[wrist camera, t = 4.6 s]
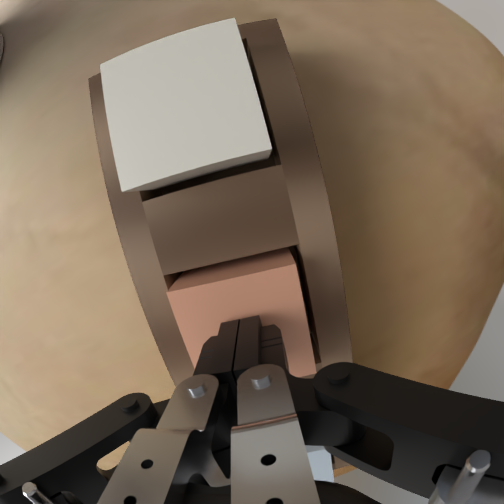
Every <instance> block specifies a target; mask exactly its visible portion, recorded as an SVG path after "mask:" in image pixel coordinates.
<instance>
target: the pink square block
mask: <svg viewBox="0 0 504 504" xmlns="http://www.w3.org/2000/svg"><path fill="white" fill-rule="evenodd" d="M166 293H167V296H168V299H169V302H170V305H171V308H172V311H173V314H174V316H175V319H176V322H177V325H178V327H179V330H180V333H181V335H182V338H183V341H184V343H185V346H186V348H187V351H188V354H189V356H190V359H191V361H192V364H193V366H194V368H195V367H196V364H197V361H198V359H199V355H200V353H201V349H202V346H203V344H204V343H205V342H206V341H207V340H208V339H209V338H210V337H211V336H217V335H218V332H219V328H220V324H221V323H222V322H227V321H232V320H237V319H242V318H247V317H252V316H256V315H259V316H260V319H261V323H262V327H263V326H268V325H272V324H275V325H276V326H277V327H278V328H280V329H281V333H282V338H283V342H284V346H285V351H286V355H287V359H288V365H289V371H290V374H291V375H293V376H295V377H302V376H307V375H311V374H315V373H317V372H316V366H315V361H314V355H313V349H312V344H311V338H310V333H309V327H308V322H307V317H306V312H305V307H304V301H303V296H302V291H301V286H300V281H299V277H298V272H297V267H296V263H295V261H294V259H293V257H292V255H291V252H290V250H289V248H288V247H284V248H280V249H276V250H271V251H267V252H263V253H259V254H254V255H250V256H246V257H241V258H237V259H233V260H228V261H224V262H220V263H215V264H211V265H207V266H202V267H198V268H194V269H189V270H185V271H184V272H183V273H182V274H181V275H180V276H179V278H178V279H177V280H176V281H175V282H174V284H173V285H172V286H171V287H170V289H169V290H168V291H167V292H166Z"/></svg>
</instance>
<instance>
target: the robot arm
mask: <svg viewBox="0 0 504 504" xmlns="http://www.w3.org/2000/svg"><path fill="white" fill-rule="evenodd" d="M3 45H4V43H3V37H2V34H1V33H0V61H1V57H2V53H3ZM127 441H129V442H130V444H129V446H128V448H127V449H126V451H125V453H124V455H123V457H122V459H121V460H120V462H119V464H118V465H117V466H115V467H113V468H112V469H110V470H101V469H100V468H99V467H98V466H97V462H98V460H99V459H101V458H102V457H104V456H105V455H107V454H109V453H110V452H112V451H113V450H115V449H116V448H118V447H119V446H121V445H123V444H124V443H126V442H127ZM305 445H310V446H324V448H325V450H326V451H327V452H328V453H330V454H332V455H334V456H335V457H337V458H339V459H341V460H343V461H345V462H347V463H349V464H351V465H353V466H354V467H356V468H358V469H360V470H363V471H365V472H367V473H369V474H371V475H373V476H375V477H377V478H379V479H382V480H384V481H386V482H388V483H391V484H393V485H395V486H398V487H400V488H402V489H405V490H407V491H410V492H413V493H415V494H418V495H420V496H423V497H425V498H428V499H429V501H428V504H504V402H501V401H496V400H491V399H486V398H481V397H477V396H472V395H468V394H463V393H459V392H454V391H450V390H446V389H442V388H438V387H434V386H431V385H427V384H423V383H419V382H416V381H412V380H408V379H405V378H401V377H398V376H394V375H391V374H387V373H384V372H381V371H377V370H374V369H371V368H368V367H364V366H361V365H358V364H355V363H351V362H338V363H333V364H330V365H327V366H325V367H323V368H322V369H320V370H319V371H318V372H317V373H316V374H315V376H314V378H299V377H295V376H293V375H291V374H290V371H289V365H288V359H287V355H286V351H285V346H284V342H283V338H282V333H281V329H280V328H278V327H277V326H276V325H275V324H272V325H268V326H263V327H262V323H261V319H260V316H259V315H256V316H252V317H247V318H242V319H237V320H232V321H227V322H222V323H221V324H220V328H219V332H218V335H217V336H211V337H210V338H209V339H208V340H207V341H206V342H205V343H204V344H203V346H202V349H201V353H200V355H199V359H198V361H197V364H196V367H195V370H194V373H193V376H191V377H189V378H187V379H185V380H183V381H182V382H181V383H180V384H179V385H178V386H177V387H176V389H175V391H174V393H173V395H172V397H171V399H168V400H164V401H161V402H157V403H154V404H153V403H152V401H151V399H150V398H149V396H148V395H146V394H144V393H132V394H128V395H126V396H123V397H122V398H120V399H118V400H117V401H115V402H113V403H112V404H110V405H109V406H107V407H105V408H104V409H102V410H100V411H99V412H97V413H95V414H94V415H92V416H90V417H88V418H87V419H85V420H83V421H82V422H80V423H78V424H76V425H75V426H73V427H71V428H70V429H68V430H66V431H64V432H62V433H61V434H59V435H57V436H55V437H54V438H52V439H50V440H48V441H46V442H44V443H43V444H41V445H39V446H37V447H35V448H33V449H31V450H30V451H28V452H26V453H24V454H22V455H20V456H18V457H16V458H14V459H12V460H10V461H8V462H6V463H4V464H2V465H0V504H381V503H379V502H377V501H375V500H373V499H372V498H370V497H368V496H366V495H364V494H363V493H361V492H359V491H357V490H355V489H353V488H350V487H348V486H345V485H341V484H338V483H334V482H328V481H320V480H314V478H313V474H312V470H311V466H310V463H309V459H308V455H307V451H306V448H305Z"/></svg>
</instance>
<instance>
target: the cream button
mask: <svg viewBox="0 0 504 504" xmlns="http://www.w3.org/2000/svg"><path fill="white" fill-rule="evenodd" d="M100 70H101V79H102V87H103V95H104V102H105V109H106V115H107V121H108V127H109V133H110V139H111V144H112V149H113V154H114V159H115V164H116V169H117V173H118V178H119V182H120V186H121V191H122V192H128V191H141V190H155V189H159V188H162V187H166V186H169V185H172V184H176V183H179V182H182V181H186V180H189V179H193V178H196V177H200V176H203V175H207V174H211V173H214V172H218V171H222V170H226V169H229V168H233V167H237V166H241V165H245V164H250V163H254V162H258V161H262V160H267V159H268V158H269V156H270V153H271V150H272V147H271V143H270V139H269V135H268V131H267V127H266V124H265V120H264V116H263V112H262V109H261V105H260V101H259V98H258V94H257V91H256V87H255V84H254V80H253V77H252V73H251V70H250V66H249V63H248V59H247V56H246V53H245V49H244V46H243V43H242V40H241V36H240V33H239V30H238V27H237V24H236V20H235V18H231V19H227V20H222V21H218V22H214V23H210V24H206V25H203V26H199V27H195V28H192V29H189V30H185V31H182V32H179V33H176V34H173V35H170V36H167V37H164V38H161V39H159V40H156V41H153V42H150V43H148V44H145V45H143V46H140V47H138V48H135V49H133V50H131V51H128V52H126V53H124V54H121V55H119V56H117V57H115V58H113V59H111V60H108V61H106V62H104V63H102V64H100Z"/></svg>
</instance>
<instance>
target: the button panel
mask: <svg viewBox="0 0 504 504" xmlns="http://www.w3.org/2000/svg"><path fill="white" fill-rule="evenodd" d="M237 27H238V30H239V33H240V36H241V40H242V43H243V46H244V49H245V53H246V56H247V59H248V63H249V66H250V70H251V73H252V77H253V80H254V84H255V87H256V91H257V94H258V98H259V101H260V105H261V109H262V112H263V116H264V120H265V124H266V127H267V131H268V135H269V139H270V143H271V147H272V150H271V153H270V156H269V158H268V159H267V160H262V161H258V162H254V163H250V164H245V165H241V166H237V167H233V168H229V169H226V170H222V171H218V172H214V173H211V174H207V175H203V176H200V177H196V178H193V179H189V180H186V181H182V182H179V183H176V184H172V185H169V186H166V187H162V188H159V189H155V190H141V191H128V192H122V191H121V186H120V182H119V178H118V173H117V169H116V164H115V159H114V154H113V149H112V144H111V139H110V133H109V127H108V121H107V115H106V109H105V102H104V95H103V87H102V79H101V73H99V74H97V75H95V76H93V77H91V78H89V89H90V97H91V105H92V113H93V120H94V126H95V133H96V138H97V144H98V150H99V155H100V160H101V165H102V170H103V175H104V179H105V184H106V188H107V192H108V197H109V201H110V205H111V209H112V213H113V216H114V220H115V224H116V228H117V231H118V235H119V238H120V242H121V245H122V248H123V252H124V255H125V258H126V261H127V265H128V268H129V271H130V274H131V277H132V280H133V283H134V286H135V289H136V291H137V294H138V297H139V300H140V303H141V305H142V308H143V311H144V313H145V316H146V319H147V321H148V324H149V326H150V329H151V331H152V334H153V336H154V339H155V341H156V344H157V346H158V348H159V351H160V353H161V355H162V358H163V360H164V362H165V365H166V367H167V369H168V371H169V373H170V376H171V378H172V380H173V382H174V384H175V386H176V387H177V386H178V385H179V384H180V383H181V382H182V381H183V380H185V379H187V378H189V377H191V376H193V373H194V370H195V368H194V366H193V364H192V361H191V359H190V356H189V354H188V351H187V348H186V346H185V343H184V341H183V338H182V335H181V333H180V330H179V327H178V325H177V322H176V319H175V316H174V314H173V311H172V308H171V305H170V302H169V299H168V296H167V293H166V292H167V291H168V290H169V289H170V287H171V286H172V285H173V284H174V282H175V281H176V280H177V279H178V278H179V276H180V275H181V274H182V273H183V272H184V271H185V270H189V269H194V268H198V267H202V266H207V265H211V264H215V263H220V262H224V261H228V260H233V259H237V258H241V257H246V256H250V255H254V254H259V253H263V252H267V251H271V250H276V249H280V248H284V247H288V248H289V250H290V252H291V255H292V257H293V259H294V261H295V263H296V267H297V272H298V277H299V281H300V286H301V291H302V296H303V301H304V307H305V312H306V317H307V322H308V327H309V333H310V338H311V344H312V349H313V355H314V361H315V366H316V372H318V371H319V370H320V369H322V368H323V367H325V366H327V365H330V364H333V363H338V362H351V363H353V360H352V349H351V339H350V330H349V322H348V313H347V306H346V298H345V291H344V284H343V277H342V271H341V265H340V258H339V253H338V247H337V241H336V236H335V230H334V225H333V220H332V215H331V210H330V205H329V200H328V195H327V191H326V186H325V182H324V177H323V173H322V169H321V164H320V160H319V156H318V152H317V148H316V144H315V140H314V136H313V132H312V129H311V125H310V121H309V118H308V114H307V111H306V107H305V104H304V100H303V97H302V93H301V90H300V87H299V84H298V80H297V77H296V74H295V71H294V68H293V65H292V62H291V59H290V56H289V53H288V50H287V47H286V44H285V41H284V38H283V36H282V33H281V30H280V27H279V25H278V22H277V19H269V20H263V21H257V22H252V23H246V24H241V25H237ZM315 374H316V373H315ZM315 374H311V375H307V376H302V377H299V378H314V376H315ZM331 461H332V469H333V470H334V469H338V468H342V467H345V466H349V465H351V464H349V463H347V462H345V461H343V460H341V459H339V458H337V457H335V456H334V455H332V454H331Z"/></svg>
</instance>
